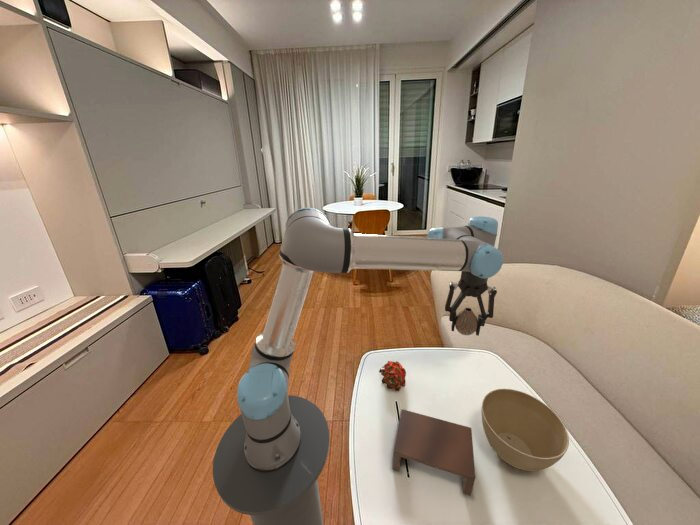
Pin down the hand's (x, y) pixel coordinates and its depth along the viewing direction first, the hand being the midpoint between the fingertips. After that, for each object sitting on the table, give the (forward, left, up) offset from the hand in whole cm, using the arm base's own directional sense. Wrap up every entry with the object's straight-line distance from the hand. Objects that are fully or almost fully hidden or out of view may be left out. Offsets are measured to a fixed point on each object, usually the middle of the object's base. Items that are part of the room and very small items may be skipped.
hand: (464, 330), depth 89 cm
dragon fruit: (-21, -13, -17) cm, 30 cm away
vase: (0, 0, 0) cm, 0 cm away
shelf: (-7, -34, -17) cm, 38 cm away
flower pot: (+13, -26, -17) cm, 33 cm away
